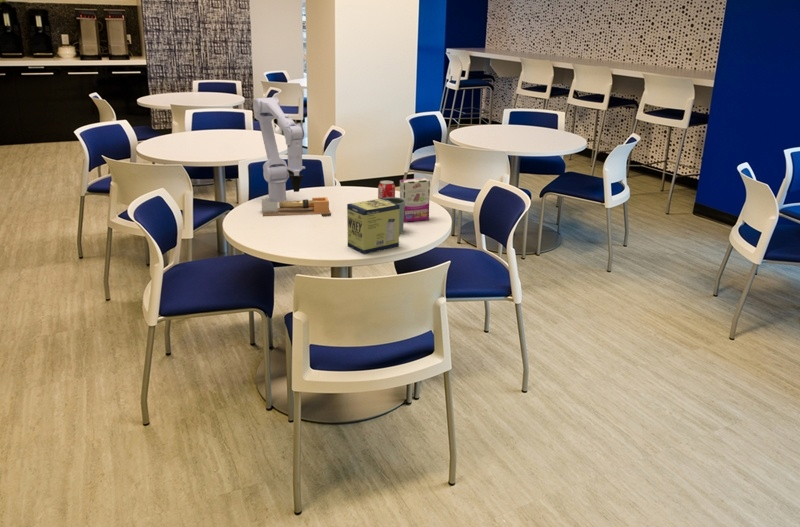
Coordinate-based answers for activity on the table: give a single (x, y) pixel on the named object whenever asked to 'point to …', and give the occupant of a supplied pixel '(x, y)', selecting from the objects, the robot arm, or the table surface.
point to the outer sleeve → (269, 206)
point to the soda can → (386, 189)
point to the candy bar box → (415, 199)
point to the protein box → (373, 225)
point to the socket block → (321, 204)
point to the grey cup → (401, 211)
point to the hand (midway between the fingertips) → (295, 189)
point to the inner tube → (297, 204)
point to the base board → (297, 212)
